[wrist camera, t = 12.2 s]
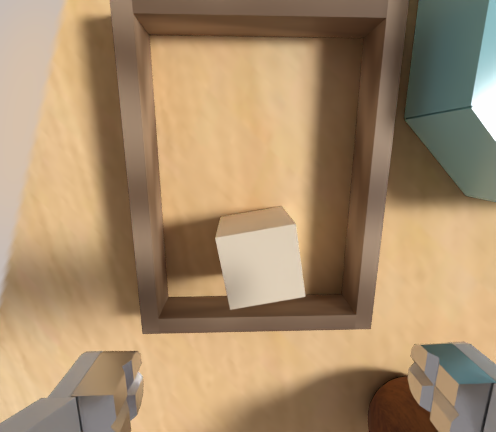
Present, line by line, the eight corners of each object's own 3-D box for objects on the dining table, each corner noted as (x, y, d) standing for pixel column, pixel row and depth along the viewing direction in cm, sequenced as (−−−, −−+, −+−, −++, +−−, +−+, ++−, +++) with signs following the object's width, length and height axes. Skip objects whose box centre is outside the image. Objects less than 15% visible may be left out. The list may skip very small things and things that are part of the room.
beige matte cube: (220, 216, 18) (215, 237, 14) (281, 205, 18) (295, 223, 14) (231, 272, 19) (230, 309, 15) (290, 262, 19) (305, 296, 15)
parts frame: (129, 13, 15) (108, -13, 13) (383, 17, 16) (409, -6, 13) (154, 310, 19) (142, 333, 17) (354, 306, 20) (370, 329, 17)
